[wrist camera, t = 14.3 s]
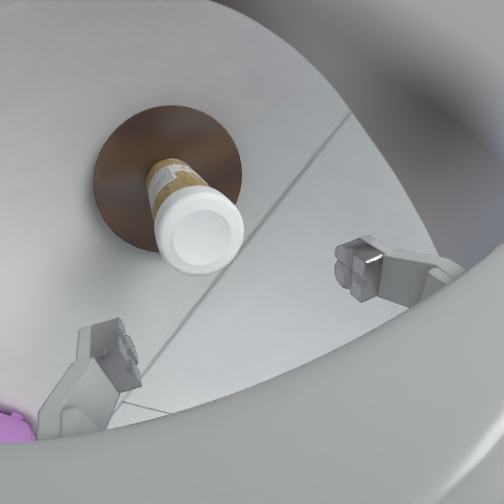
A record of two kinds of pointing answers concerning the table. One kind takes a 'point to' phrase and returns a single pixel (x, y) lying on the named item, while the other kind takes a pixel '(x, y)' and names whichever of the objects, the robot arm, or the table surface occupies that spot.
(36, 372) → the table surface
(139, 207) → the disc
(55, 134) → the table surface
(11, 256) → the table surface
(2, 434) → the teapot
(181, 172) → the sprinkles bottle
